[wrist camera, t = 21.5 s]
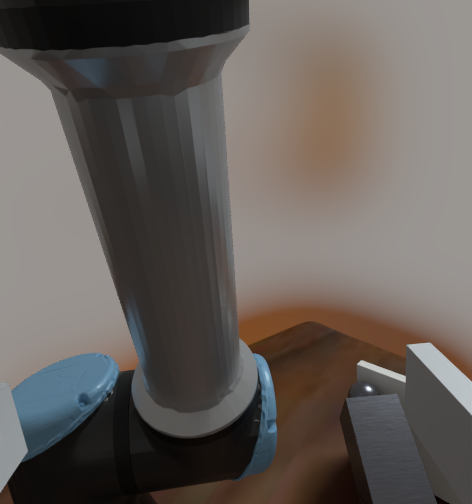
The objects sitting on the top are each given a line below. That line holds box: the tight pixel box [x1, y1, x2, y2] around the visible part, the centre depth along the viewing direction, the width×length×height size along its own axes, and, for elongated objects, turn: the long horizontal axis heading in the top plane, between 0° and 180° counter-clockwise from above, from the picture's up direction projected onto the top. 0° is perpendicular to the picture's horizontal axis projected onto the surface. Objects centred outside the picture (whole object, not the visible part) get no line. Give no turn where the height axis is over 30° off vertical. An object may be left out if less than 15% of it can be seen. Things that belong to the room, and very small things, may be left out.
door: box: [357, 360, 463, 504], centre depth 46 cm, size 17×3×14 cm, turn 43°
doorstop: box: [340, 381, 437, 504], centre depth 41 cm, size 9×9×18 cm
